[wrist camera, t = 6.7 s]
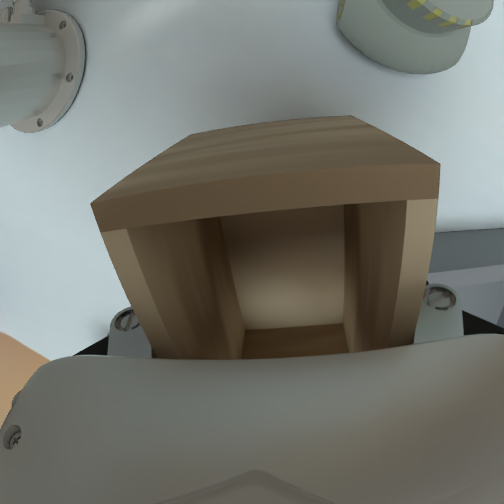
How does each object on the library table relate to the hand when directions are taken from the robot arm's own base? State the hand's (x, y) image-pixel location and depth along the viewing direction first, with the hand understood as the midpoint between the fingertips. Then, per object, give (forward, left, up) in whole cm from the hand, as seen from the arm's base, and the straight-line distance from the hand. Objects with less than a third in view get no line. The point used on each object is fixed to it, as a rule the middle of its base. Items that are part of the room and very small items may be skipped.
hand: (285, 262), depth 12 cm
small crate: (0, 0, -2) cm, 2 cm away
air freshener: (-13, +10, -14) cm, 21 cm away
